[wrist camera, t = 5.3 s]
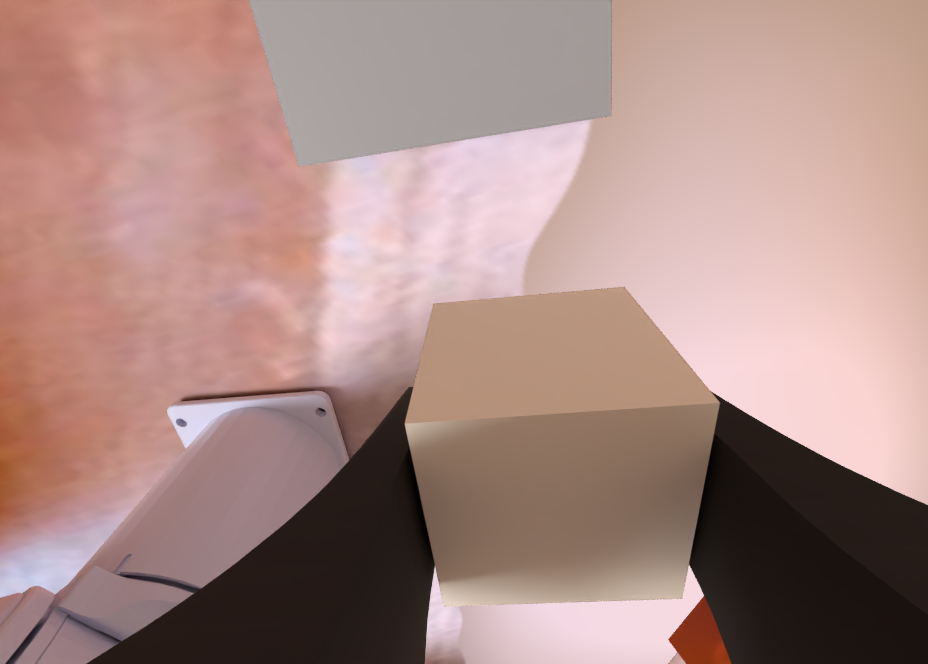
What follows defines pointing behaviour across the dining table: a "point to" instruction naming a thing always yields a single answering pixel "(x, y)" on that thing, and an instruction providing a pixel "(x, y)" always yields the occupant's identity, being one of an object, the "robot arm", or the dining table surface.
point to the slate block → (431, 69)
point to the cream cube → (557, 450)
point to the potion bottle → (699, 639)
